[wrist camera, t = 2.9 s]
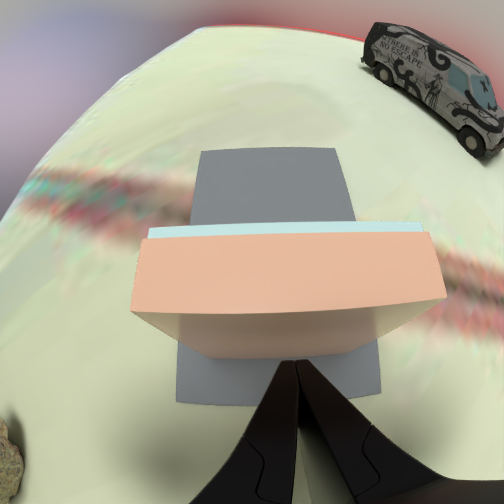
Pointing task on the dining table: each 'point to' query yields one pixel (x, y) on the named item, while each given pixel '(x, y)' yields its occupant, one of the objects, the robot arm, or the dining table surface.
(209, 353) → the block
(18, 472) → the rock
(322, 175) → the mat
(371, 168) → the dining table surface
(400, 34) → the toy car
